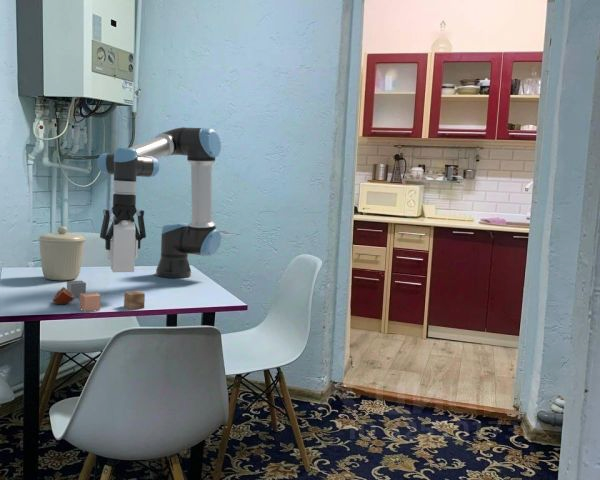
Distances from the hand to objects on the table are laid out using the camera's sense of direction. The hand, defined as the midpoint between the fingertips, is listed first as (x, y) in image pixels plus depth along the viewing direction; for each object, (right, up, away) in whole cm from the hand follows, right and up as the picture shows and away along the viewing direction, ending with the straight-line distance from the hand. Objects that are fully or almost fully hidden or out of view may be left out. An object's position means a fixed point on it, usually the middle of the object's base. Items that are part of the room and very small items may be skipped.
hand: (122, 258), depth 198 cm
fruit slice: (-17, -15, -10) cm, 24 cm away
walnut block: (+6, -16, -8) cm, 19 cm away
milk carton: (0, -5, +1) cm, 5 cm away
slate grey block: (-17, -13, +3) cm, 22 cm away
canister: (-34, -9, +31) cm, 47 cm away
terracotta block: (-6, -16, -15) cm, 23 cm away
